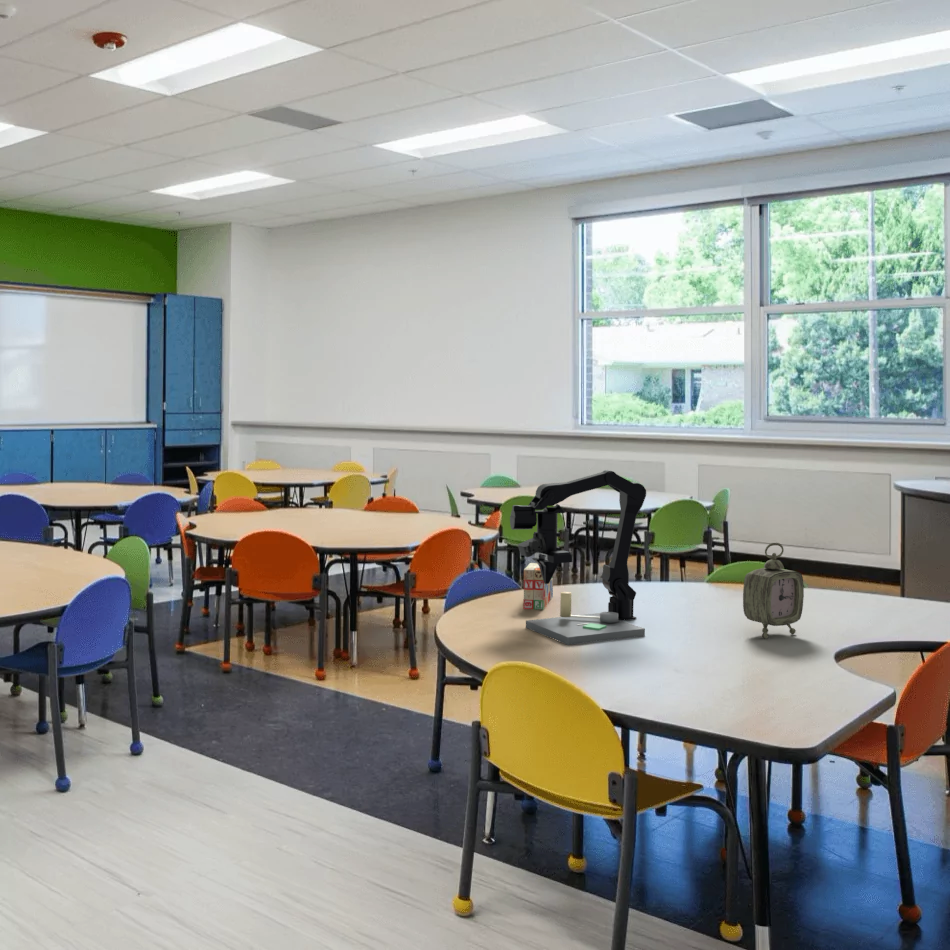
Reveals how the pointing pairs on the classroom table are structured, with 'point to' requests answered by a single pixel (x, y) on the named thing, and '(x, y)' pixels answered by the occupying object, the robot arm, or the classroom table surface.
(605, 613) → the beige and grey mallet
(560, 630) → the gauge plate
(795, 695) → the classroom table surface
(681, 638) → the classroom table surface
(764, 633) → the tabletop clock
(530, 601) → the stack of blocks
